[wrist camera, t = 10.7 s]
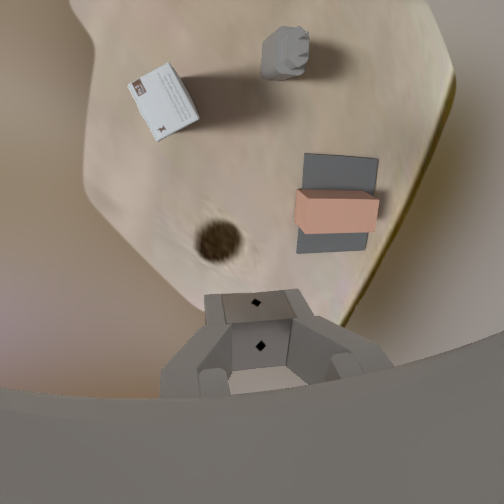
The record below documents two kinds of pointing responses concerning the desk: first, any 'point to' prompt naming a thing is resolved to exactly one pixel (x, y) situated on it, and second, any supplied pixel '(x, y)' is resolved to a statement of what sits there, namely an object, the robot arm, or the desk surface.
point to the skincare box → (163, 101)
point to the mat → (336, 178)
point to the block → (335, 211)
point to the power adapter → (285, 53)
